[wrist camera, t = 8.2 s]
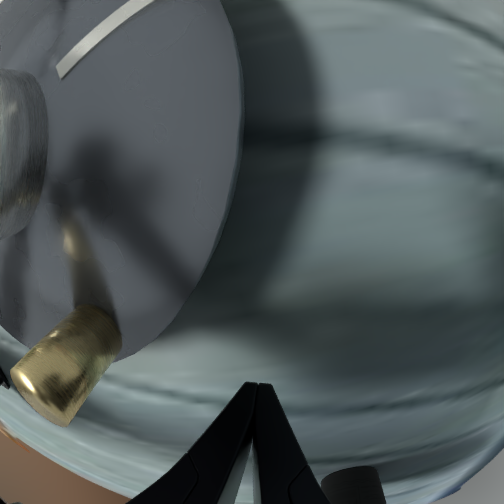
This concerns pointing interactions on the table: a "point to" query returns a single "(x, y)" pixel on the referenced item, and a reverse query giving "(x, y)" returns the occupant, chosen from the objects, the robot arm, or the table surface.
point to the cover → (21, 148)
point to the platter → (117, 181)
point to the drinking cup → (354, 486)
